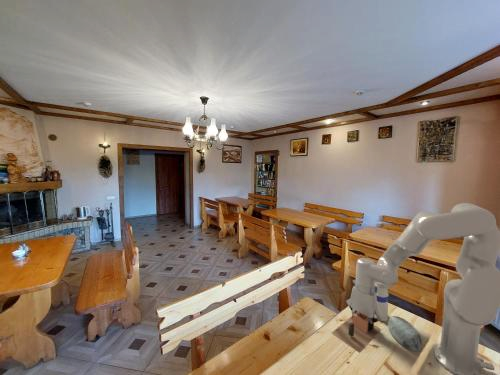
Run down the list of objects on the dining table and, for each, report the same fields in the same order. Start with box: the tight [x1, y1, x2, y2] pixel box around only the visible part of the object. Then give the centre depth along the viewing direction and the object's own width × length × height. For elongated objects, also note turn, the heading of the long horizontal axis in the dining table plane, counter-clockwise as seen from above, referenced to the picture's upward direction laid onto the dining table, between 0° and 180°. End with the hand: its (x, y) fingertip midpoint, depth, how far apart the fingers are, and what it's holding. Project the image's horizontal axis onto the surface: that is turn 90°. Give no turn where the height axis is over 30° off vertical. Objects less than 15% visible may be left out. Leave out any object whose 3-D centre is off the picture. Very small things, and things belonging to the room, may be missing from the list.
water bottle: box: [374, 281, 392, 322], centre depth 101 cm, size 8×9×25 cm
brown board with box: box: [331, 316, 382, 354], centre depth 91 cm, size 20×12×8 cm, turn 127°
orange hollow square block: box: [353, 311, 369, 333], centre depth 94 cm, size 6×6×5 cm
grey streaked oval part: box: [387, 315, 423, 352], centre depth 88 cm, size 14×10×10 cm
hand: (362, 324), depth 94 cm, fingers closed on orange hollow square block, 5 cm apart
